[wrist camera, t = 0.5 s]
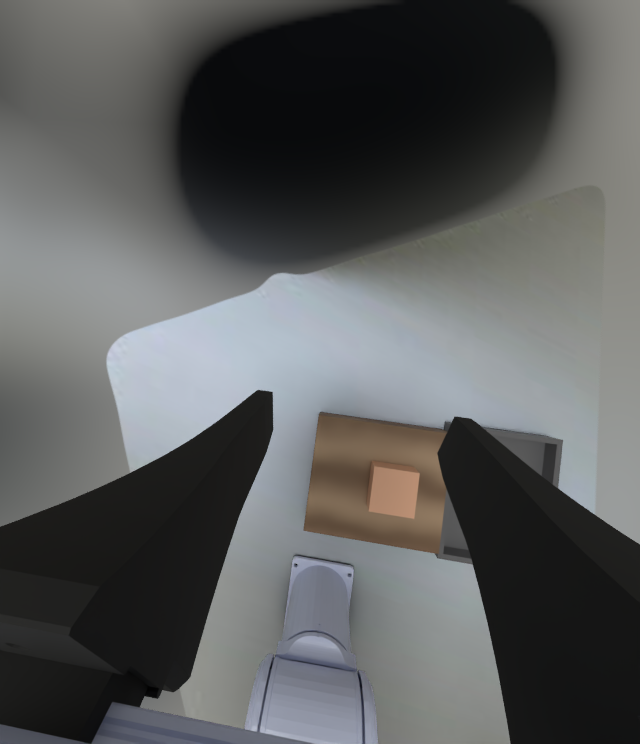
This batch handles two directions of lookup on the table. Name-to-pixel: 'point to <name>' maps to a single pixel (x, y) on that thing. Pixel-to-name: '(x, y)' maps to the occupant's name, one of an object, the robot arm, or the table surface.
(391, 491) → the tile
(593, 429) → the table surface
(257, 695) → the robot arm
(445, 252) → the table surface
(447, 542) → the tray
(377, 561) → the table surface
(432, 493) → the platform
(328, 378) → the table surface
